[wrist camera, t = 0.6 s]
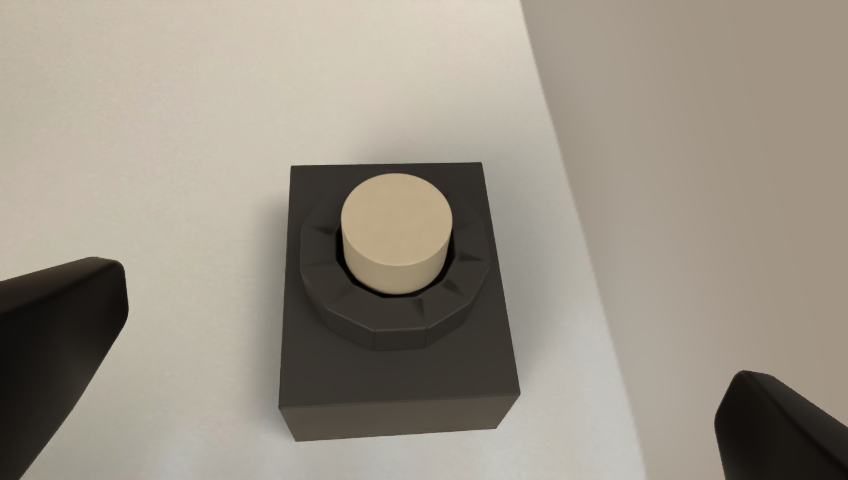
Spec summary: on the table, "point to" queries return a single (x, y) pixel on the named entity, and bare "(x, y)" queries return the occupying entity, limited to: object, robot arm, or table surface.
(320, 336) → the block
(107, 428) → the table surface
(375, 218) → the stop button
